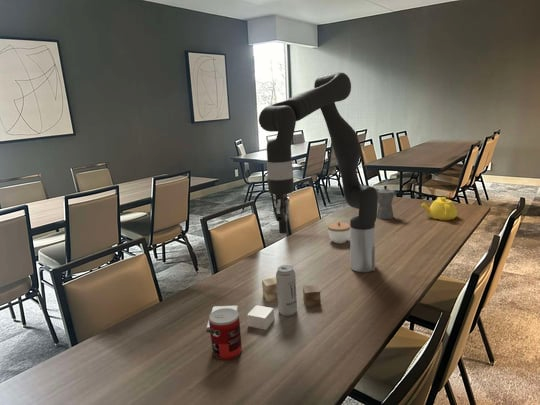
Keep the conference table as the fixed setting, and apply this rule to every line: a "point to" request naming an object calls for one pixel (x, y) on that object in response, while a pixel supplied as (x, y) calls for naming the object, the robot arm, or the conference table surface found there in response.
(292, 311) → the energy drink can
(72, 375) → the conference table surface
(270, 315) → the pale grey block
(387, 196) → the coffeepot
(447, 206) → the teapot
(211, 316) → the canned food
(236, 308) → the external hard drive
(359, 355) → the conference table surface
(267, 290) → the oak block
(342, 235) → the lidded jar
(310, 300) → the walnut block
